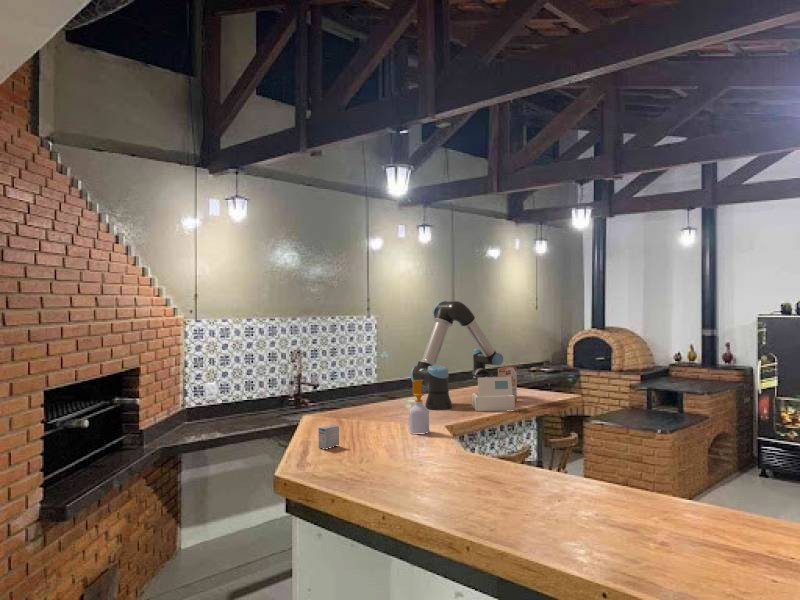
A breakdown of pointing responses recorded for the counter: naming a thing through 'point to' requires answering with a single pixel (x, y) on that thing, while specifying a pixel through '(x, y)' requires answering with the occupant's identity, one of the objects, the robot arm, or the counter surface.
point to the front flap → (495, 386)
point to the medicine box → (328, 436)
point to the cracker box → (510, 372)
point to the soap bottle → (418, 412)
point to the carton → (493, 402)
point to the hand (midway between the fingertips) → (488, 380)
